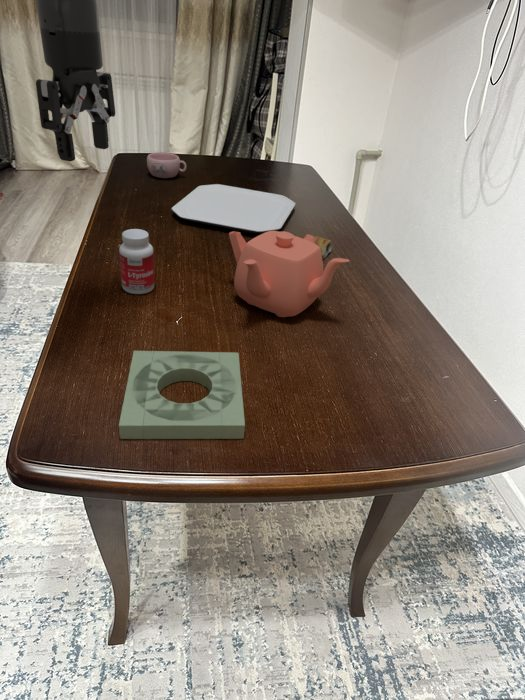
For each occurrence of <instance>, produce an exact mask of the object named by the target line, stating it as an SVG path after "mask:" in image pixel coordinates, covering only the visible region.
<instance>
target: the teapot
mask: <svg viewBox="0 0 525 700" xmlns="http://www.w3.org/2000/svg"><path fill="white" fill-rule="evenodd" d="M304 236H305V238H304V239H302V238H300V237H301V236H297V235H294V233H291V232H289V231H280V230H277V231H268V232H263V233H260V234H259V235H257V236H255V237H253V238H252V239H250V240H248V241H247V242H246V240H245V238H244V237H243V235H242V234H241V231H236V230H233V231H230V232H229V233H228V237H229V240H230V241H229V242H230V244H231V248H232V251H233V254H234V258H235V262H236V268H235V271H234V279H233V286H234V289H235V292H236V294H237V296H238V297H239V298H240V299H242V300H243V301H245V302H246V303H247V304H248V305H250V306H254V307H256V308H259V309H261V310H263V311H267V312H270V313H273V314H275V316H277V317H279V318H287V317H295V316H297V315H299V314H301V313H302V312H303V311H305V310H306V309H307V308H308V307H310V306H311V305H312V304H313V303H314V302H315V301H316V300H317V299H318V298H319V296H322V295H323V294H324V293H325V292H326V291H327V290H328V289H329V287H330V285H331V283H332V280H333V277H334V274H335V273H336V271H337V269H338V267H340V266H341V265H343V264H346V263H349V262H350V261H351V260H350V259H349V258H343V257H335V258H332V259H330V260H329V261H328V262H327V263H326V265H325V267H324V262H323V259H322V255H321V250H320V247H319V246H318V245H316V244H317V242H318V240H317V238H315V235H312V234H308V233H307V234H305V235H304Z"/></svg>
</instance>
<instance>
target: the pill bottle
mask: <svg viewBox="0 0 525 700" xmlns="http://www.w3.org/2000/svg"><path fill="white" fill-rule="evenodd" d="M149 238H150V236H149V232H148V231H146V230H144V229H140V228H131V229H126V230H123V231H122V232H121V240H122V243H121V245H120V246H119V247H118V253H119V254H118V255H119V267H120V268H119V269H120V280H121V287H122V290H123V291H124V292H126V293H128V294H130V295H131V294H132V295H144V294H148V293H151V292H152V291H153V290H154V288H155V257H154V247H153V245H152V244H151V243H150V239H149Z"/></svg>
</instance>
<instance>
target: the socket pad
mask: <svg viewBox="0 0 525 700" xmlns="http://www.w3.org/2000/svg"><path fill="white" fill-rule="evenodd" d="M240 364H241V363H240V354H239V352H231V351H230V352H229V351H180V350H179V351H177V350H174V351H172V350H170V351H169V350H133V352H132V357H131V362H130V367H129V372H128V377H127V380H126V381H127V382H126V386H125V392H124V398H123V402H122V407H121V411H120V418H119V421H118V433H119V439H120V440H216V439H217V440H243V439H245V432H246V431H245V430H246V421H245V420H246V419H245V409H244V399H243V386H242V375H241V365H240ZM179 382H192V383H196V384H200V385H201V386H202V387H204V388H206V389H207V390H208V392H209V394H208V395H207V396H205V397H203V398H202V399H200V400H197V401H194V402H190V403H189V402H188V403H183V402H182V403H181V402H180V403H178V402H176V401H172V400H168V399H167V398H166V397H164V396H163V395H161V391H162V390H163V389H164V388H166V387H168V386H169V385H171V384H175V383H179Z"/></svg>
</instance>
